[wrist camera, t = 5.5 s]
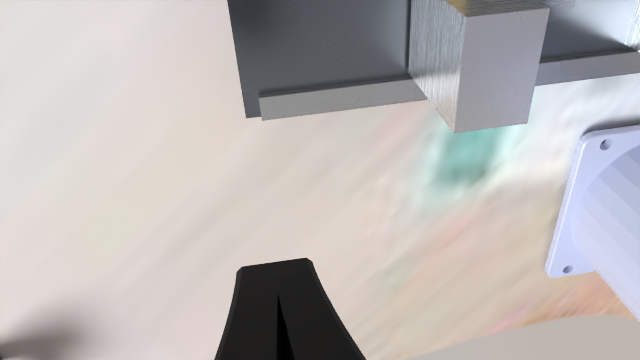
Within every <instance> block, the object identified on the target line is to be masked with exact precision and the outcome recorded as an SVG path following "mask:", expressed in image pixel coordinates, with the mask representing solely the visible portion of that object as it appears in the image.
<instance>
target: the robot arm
mask: <svg viewBox="0 0 640 360" xmlns="http://www.w3.org/2000/svg"><path fill="white" fill-rule="evenodd" d="M604 140H606V141H605V142H604V143H603V144H601V143H602V142H603V141H604ZM545 271H546V273H547V274H548V276H549V277H552V278H557V277H563V276H569V275H575V274H581V273H587V272H594V271H597V272H598V274H599V275H600V276H601V277H602V278H603V280H604V281H605V282H606V283H607V284H608V285H609V287H610V288H611V289H612V290H613V291H614V293H615V294H616V295H617V296H618V297H619V298H620V300H621V301H622V302H623V303H624V304H625V306H626V307H627V308H628V309H629V310H630V312H631V313H632V314H633V315H634V316H635V317H636V319H637V320H638V321H639V322H640V125H634V126H627V127H619V128H612V129H605V130H597V131H592V132H588V133H587V134H585V135H583V137H582V138H581V139H580V140H579V143H578V146H577V149H576V153H575V157H574V160H573V164H572V168H571V172H570V175H569V179H568V183H567V186H566V190H565V194H564V198H563V201H562V205H561V209H560V212H559V216H558V220H557V224H556V227H555V231H554V235H553V238H552V242H551V246H550V250H549V253H548V257H547V261H546V264H545ZM215 360H366V359H365V357H364V356H363V354H362V353H361V351H360V350H359V348H358V347H357V345H356V343H355V342H354V340H353V339H352V337H351V336H350V334H349V332H348V331H347V329H346V328H345V326H344V325H343V323H342V321H341V320H340V318H339V316H338V315H337V313H336V311H335V309H334V307H333V306H332V304H331V302H330V300H329V298H328V297H327V295H326V293H325V291H324V289H323V287H322V285H321V282H320V280H319V278H318V276H317V273H316V271H315V268H314V266H313V262H312V261H311V260H309V259H307V258H300V259H293V260H286V261H279V262H272V263H265V264H258V265H251V266H244V267H241V268H240V269H239V270H238V271H237V274H236V283H235V288H234V294H233V298H232V303H231V307H230V311H229V314H228V318H227V322H226V325H225V329H224V332H223V335H222V338H221V341H220V344H219V347H218V350H217V353H216V357H215Z"/></svg>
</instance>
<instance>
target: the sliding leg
mask: <svg viewBox="0 0 640 360" xmlns="http://www.w3.org/2000/svg"><path fill="white" fill-rule="evenodd" d="M549 10H550V8H549V7H547V6H545V5H544V4H542V3H540V2H538V1H536V0H411V22H410V45H409V69H408V73H409V74H410V76H411V77H412V78H413V80H414V81H415V82H416V84H417V85H418V86H419V87H420V89H421V90H422V91H423V93H424V94H425V95H426V97H427V98H428V99H429V101H430V102H431V103H432V105H433V106H434V107H435V109H436V110H437V111H438V113H439V114H440V115H441V116H442V118H443V119H444V120H445V122H446V123H447V124H448V126H449V127H450V128H451V130H452V131H453V132H454V133H458V132H466V131H473V130H481V129H488V128H495V127H503V126H510V125H518V124H525V123H527V122H528V117H529V112H530V107H531V102H532V96H533V91H534V86H535V81H536V76H537V71H538V66H539V61H540V56H541V51H542V46H543V41H544V36H545V31H546V26H547V20H548V15H549Z"/></svg>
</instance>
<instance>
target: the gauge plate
mask: <svg viewBox="0 0 640 360" xmlns="http://www.w3.org/2000/svg"><path fill="white" fill-rule="evenodd" d="M227 1H228V7H229V14H230V20H231V26H232V32H233V39H234V45H235V51H236V57H237V64H238V70H239V76H240V82H241V89H242V95H243V101H244V107H245V114H246V118H253V117H260V116H261V117H262V121H263V120H271V119H279V118H287V117H295V116H303V115H310V114H318V113H326V112H334V111H342V110H350V109H358V108H366V107H374V106H381V105H389V104H397V103H405V102H413V101H421V100H429V99H428V98H427V97H426V95H425V94H424V93H423V91H422V90H421V89H420V87H419V86H418V85H417V84H416V82H415V81H414V80H413V78H412V77H411V76H410V74H409V73H408V69H409V45H410V22H411V0H227ZM536 1H538V2H540V3H542V4H544V5H545V6H547V7H549V8H550V10H549V15H548V20H547V26H546V31H545V36H544V41H543V46H542V51H541V56H540V61H539V66H538V71H537V76H536V81H535V86H539V85H547V84H555V83H563V82H571V81H578V80H586V79H594V78H602V77H610V76H618V75H626V74H634V73H640V0H536Z"/></svg>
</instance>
